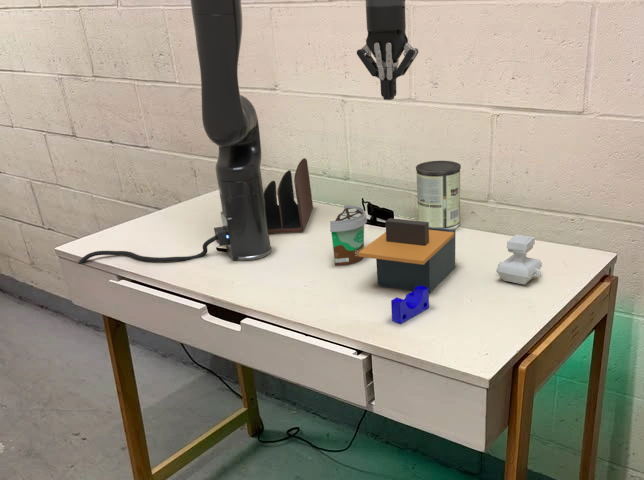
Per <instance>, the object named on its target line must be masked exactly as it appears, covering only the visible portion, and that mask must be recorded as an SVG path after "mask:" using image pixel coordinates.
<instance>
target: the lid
mask: <svg viewBox="0 0 644 480" xmlns="http://www.w3.org/2000/svg"><path fill="white" fill-rule="evenodd" d="M453 237H454V232H447V231H437V230H429V222H423V221H418V220H412V219H404V218H403V219H402V218H394V217H393V218H392V217H390V218H388V219H387V220H385V232H384V233H382V234H381V235H379V236H378V237H377V238H375V239H374V240H373V241H371V242H370V243H369V244H367V245H366V246H364V249H362V250H361V251H359V252H358V256H359V257H364V258H367V259H375V260H376V259H382V260H390V261H398V262H406V263H414V264H422V265H424V264H425V263H426V262H427V261H428V260H429V259H430V258H431V257H432V256H433V255H434V254H436V253H437V252H438V251H439V250H440V249H441V248H442V247H443V246H444V245H445V244H446V243H447V242H448V241H450V240H451V239H452V238H453Z"/></svg>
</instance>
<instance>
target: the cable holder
mask: <svg viewBox="0 0 644 480" xmlns="http://www.w3.org/2000/svg"><path fill="white" fill-rule="evenodd" d="M429 294H430V293H429V288H428V287H424V286H421V285H419V286H417V287H415V290H414V291H411V292H409V293H407V294H406V295H405V297H404V298H400V297H397V296H396V297H394V298H392V299H391V300H390V304H391V307H390V308H391V322H393V323H397V324H400V325H402V324H404V323H405V322H408V321H409V320H411V319H412V318H414V317H417V315H420V314H421V313H423V312H425V311H427V310H429V308H430V297H429Z"/></svg>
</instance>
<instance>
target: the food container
mask: <svg viewBox="0 0 644 480" xmlns="http://www.w3.org/2000/svg"><path fill="white" fill-rule="evenodd" d="M367 223H368V218H367V215H366V212H365V210H364V209H363V208H362V207H360V206H357V205H354V204H353V205H352V204H343V210H342V212H340V213H339V214H338V215H337V216H336V218H335V220H330V221H329V231H330V232H331V240H332V241H331V242H332V250H333V257H334V259H333V260H334V265H335V267H343V266H351V265H355V264H357V263H360V262H362V261H363V259H364V258H365V257H359V256H358V252H359V251H361V250H362V249H364V248H365V225H366V224H367Z"/></svg>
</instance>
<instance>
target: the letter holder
mask: <svg viewBox="0 0 644 480" xmlns="http://www.w3.org/2000/svg"><path fill="white" fill-rule="evenodd" d="M292 175H293V174H292V171H291V170H290V169H289V170H287V171H285V172H284V174H283V175H282V177H281V179H280V182H279V184H278V187H277V183H276V181H275V180H271V181H270V182H269V183H268V184H267V186H266V187H265V189H264V190H263V193H264V200H265V208H266V216H267V223H268V231H269V234H287V233H289V234H290V233H291V234H292V233H304V231H305V229H306V225H307V224H308V222H309V219H310V216H311V213H312V211H313V208H314V205H313V196H312V195H313V194H312V187H311V181H310V173H309V166H308V160H307V158H305V157H303V158H302V159H301V160H300V161H299V162H298V164H297V167H296V169H295V172H294V176H292ZM293 177H294V178H293ZM293 183H294V185H293ZM294 189H295V193H294ZM295 197H296V200H295Z"/></svg>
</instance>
